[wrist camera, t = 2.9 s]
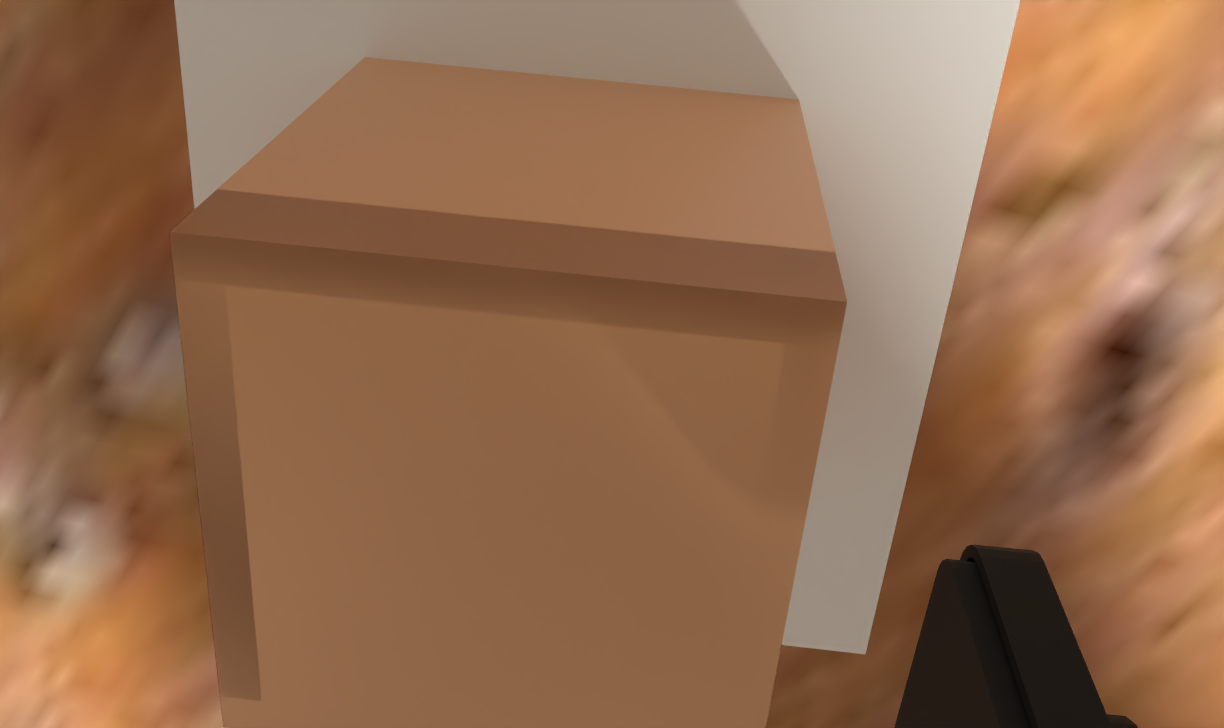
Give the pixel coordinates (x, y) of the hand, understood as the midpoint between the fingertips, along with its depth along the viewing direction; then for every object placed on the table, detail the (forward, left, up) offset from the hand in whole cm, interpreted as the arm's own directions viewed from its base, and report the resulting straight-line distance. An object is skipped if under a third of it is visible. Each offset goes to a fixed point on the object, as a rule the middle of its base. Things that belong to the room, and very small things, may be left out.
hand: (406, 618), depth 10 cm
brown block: (0, +1, -9) cm, 9 cm away
